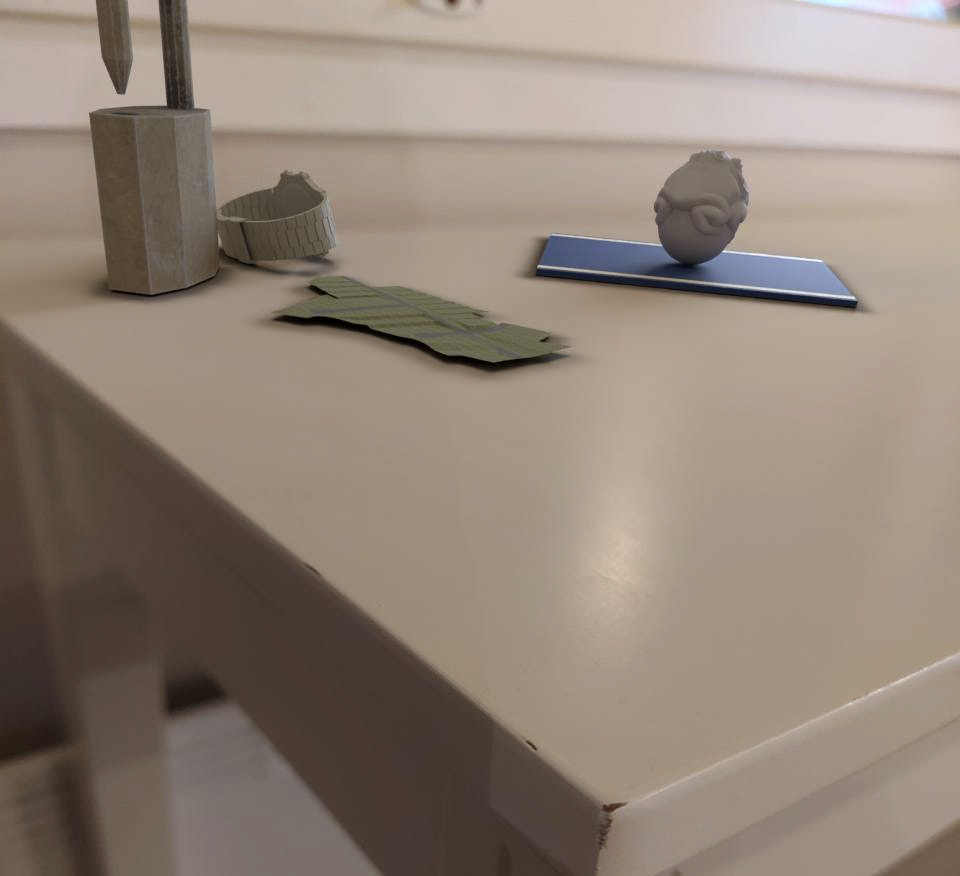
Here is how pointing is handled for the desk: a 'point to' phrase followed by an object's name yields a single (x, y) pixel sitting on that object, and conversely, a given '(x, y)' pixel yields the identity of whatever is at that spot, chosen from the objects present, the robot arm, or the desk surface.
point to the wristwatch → (278, 222)
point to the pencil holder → (154, 165)
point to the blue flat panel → (693, 270)
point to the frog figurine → (701, 207)
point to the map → (422, 320)
